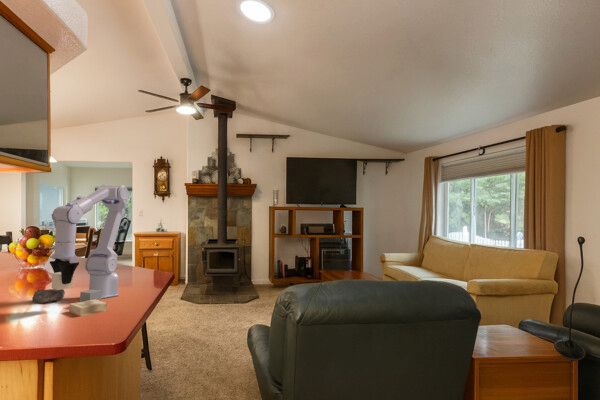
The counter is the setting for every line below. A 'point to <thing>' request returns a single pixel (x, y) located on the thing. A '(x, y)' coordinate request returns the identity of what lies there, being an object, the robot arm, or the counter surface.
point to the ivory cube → (60, 282)
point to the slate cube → (90, 295)
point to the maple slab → (87, 307)
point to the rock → (48, 295)
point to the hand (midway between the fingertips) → (63, 282)
